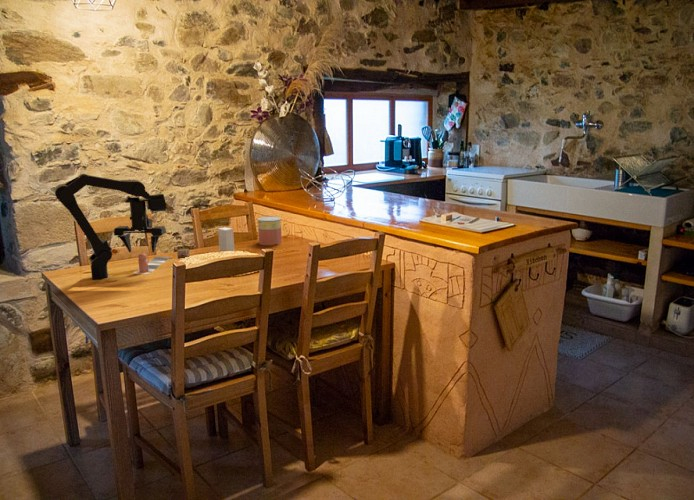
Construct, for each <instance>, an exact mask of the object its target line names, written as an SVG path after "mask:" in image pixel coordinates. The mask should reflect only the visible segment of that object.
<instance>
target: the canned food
mask: <svg viewBox="0 0 694 500" xmlns="http://www.w3.org/2000/svg"><path fill="white" fill-rule="evenodd" d="M257 225H258V226H257V227H258V230H257V231H258V244H259V245H263V246H276V245H275V244H277V245H281V244H282V243H283V241H282V239H283V237H282V217H280V216H262V217H259V218H257ZM280 243H281V244H280Z"/></svg>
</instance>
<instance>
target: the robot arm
mask: <svg viewBox="0 0 694 500" xmlns="http://www.w3.org/2000/svg"><path fill="white" fill-rule="evenodd" d="M86 186H89V187H96V188H102V189H106V190H107V189H108V190H113V191H119V192H122V193H125V194H128V195H127V197H125V198H124V199H123V202H125V203H126V204H128V203H129V209H130V216H129V220H130V221H131V222H130V223H131V227H130V226H129V225H119V226H118V225H117V226H116V227H114V229H113V235H114V236H117V238H120V240H121V241H122V242H123V245H124V246H125V248H126V249H127V251H128V252H129V253H132V245H131V234H151V236H150V242H151V252H152V253H155V251H156V247H157V244H158V241H159V239H160V237H162V236H163V235H165V234H166V233H167V229H166V226H164V225H155V226H153V219H151V218H149V214H147V211H150V212H151V213H157V212H166V211H167V202H166V198H165V195H164V193H158V194H150V193H149V192H148V191H146V186H145V184H144V183H143V182H140V181H139V180H137V179H135V180H134V179H125V180H124V179H120V180H119V179H113V178H107V177H100V176H95V175H90V174H86V173H80V174H79V175H78V176H76V177H75V178H73V179H71V180H69V181H68V182H66V183H65V184H64V183H60V184H58V185H57V186H56V187H55V188H54V195H55V198H57V200H58V202H60V203H61V205H63V207H65V209H67V210H68V211H69V213H70V214H71V216H72V217H73V218H74V220H75V222H76V223H77V225H78V226H79V228H80V229H81V231H82V233H83V234H84V235H85V237H86V238H87V240H88V242H89V244H90V246H91V247H90V248H91V249H92V252H93V253H92V254H91V255H90V256H89V258H88V261H89V262H90V271H91V272H90V273H91V279H92V281H101V280H105V279H107V278H109V273H108V263H109V261H110V260H111V259H112V257H113V251H112V250H113V248H112V247H111V245H109V242H108V241H107V239H106V238H105V237H103V238H102V239H101V238H100V237H99V235H97V233H96V231H95V230H94V227H93V226H92V225H91V223H90V222H89V220H88V218H87V217H86V215H85V214H84V212H83V211H82V210H81V208H80V207H79V204H78V201H77V199H76V196H75V194H77V193H78V192H79V191H81V190H82V189H83V188H84V187H86ZM131 196H132V197H131ZM133 196H134V197H133ZM140 197H141V199H140Z"/></svg>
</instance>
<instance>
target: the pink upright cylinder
mask: <svg viewBox="0 0 694 500" xmlns="http://www.w3.org/2000/svg"><path fill="white" fill-rule="evenodd" d="M148 260H149V259H148V256H147V254H146V253H144V252H143V253H140V254H139V255H138V260H137V261H138V270H139V271H140V272H141V273H145V272H148V271H149V270H148V262H149V261H148Z"/></svg>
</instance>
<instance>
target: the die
mask: <svg viewBox="0 0 694 500" xmlns="http://www.w3.org/2000/svg"><path fill="white" fill-rule="evenodd" d="M189 256H190V249H189V248H179V249H177V259H178V260H181V259H180V258H185V257H189Z"/></svg>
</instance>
